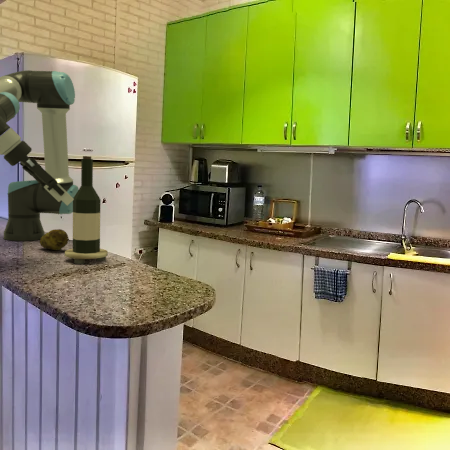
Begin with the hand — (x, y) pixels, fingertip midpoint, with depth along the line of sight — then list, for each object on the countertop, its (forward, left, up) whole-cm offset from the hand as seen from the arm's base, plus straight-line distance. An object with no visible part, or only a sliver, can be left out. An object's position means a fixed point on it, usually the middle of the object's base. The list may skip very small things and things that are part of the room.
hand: (66, 200), depth 141 cm
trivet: (-1, +6, -19) cm, 20 cm away
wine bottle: (-1, +6, -16) cm, 17 cm away
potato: (-20, -4, -19) cm, 28 cm away
